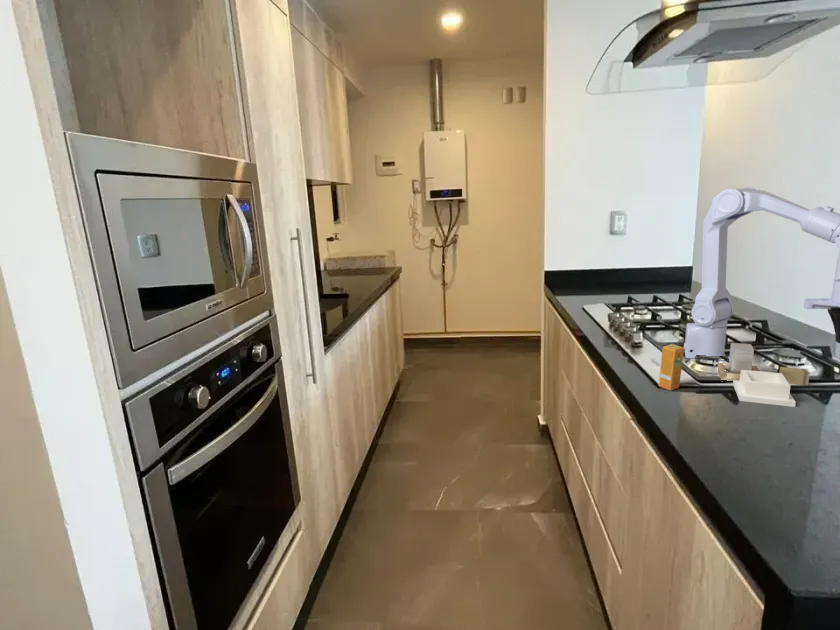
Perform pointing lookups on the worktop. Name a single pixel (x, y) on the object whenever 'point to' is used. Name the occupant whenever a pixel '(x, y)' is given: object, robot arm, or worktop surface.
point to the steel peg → (740, 357)
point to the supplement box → (671, 367)
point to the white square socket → (763, 388)
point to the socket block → (729, 376)
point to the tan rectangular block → (795, 375)
